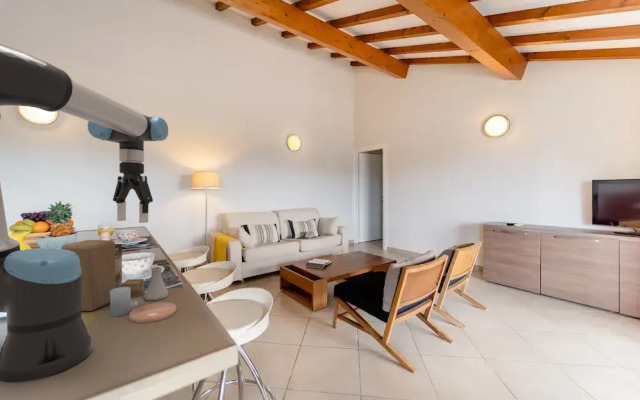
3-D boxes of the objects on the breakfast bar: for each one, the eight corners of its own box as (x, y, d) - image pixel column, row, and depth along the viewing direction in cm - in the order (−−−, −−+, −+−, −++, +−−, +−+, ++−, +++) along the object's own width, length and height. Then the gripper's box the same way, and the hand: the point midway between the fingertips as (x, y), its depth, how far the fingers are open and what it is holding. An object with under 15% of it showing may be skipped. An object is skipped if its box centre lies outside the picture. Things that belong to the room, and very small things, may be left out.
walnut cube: (138, 297, 102) (138, 282, 102) (121, 298, 101) (121, 283, 101) (143, 292, 107) (143, 278, 107) (128, 293, 106) (127, 279, 106)
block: (117, 300, 99) (116, 239, 98) (91, 312, 89) (90, 245, 88) (89, 299, 100) (88, 239, 99) (60, 311, 90) (59, 244, 89)
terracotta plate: (164, 322, 83) (164, 318, 83) (119, 323, 82) (119, 318, 82) (182, 305, 95) (182, 302, 95) (143, 306, 94) (143, 302, 94)
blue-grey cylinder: (124, 316, 87) (123, 292, 86) (106, 316, 87) (106, 292, 86) (134, 309, 92) (133, 286, 91) (117, 309, 92) (117, 286, 91)
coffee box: (107, 293, 105) (106, 248, 104) (88, 294, 105) (87, 248, 104) (122, 285, 114) (122, 243, 114) (105, 285, 114) (104, 243, 113)
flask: (139, 299, 100) (138, 269, 100) (157, 292, 107) (157, 264, 106) (156, 302, 98) (155, 271, 97) (173, 295, 104) (173, 266, 104)
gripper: (163, 162, 105) (164, 222, 106) (122, 164, 117) (123, 219, 118) (142, 159, 99) (143, 224, 99) (101, 163, 110) (102, 220, 111)
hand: (132, 221), depth 108 cm, fingers open, 13 cm apart
